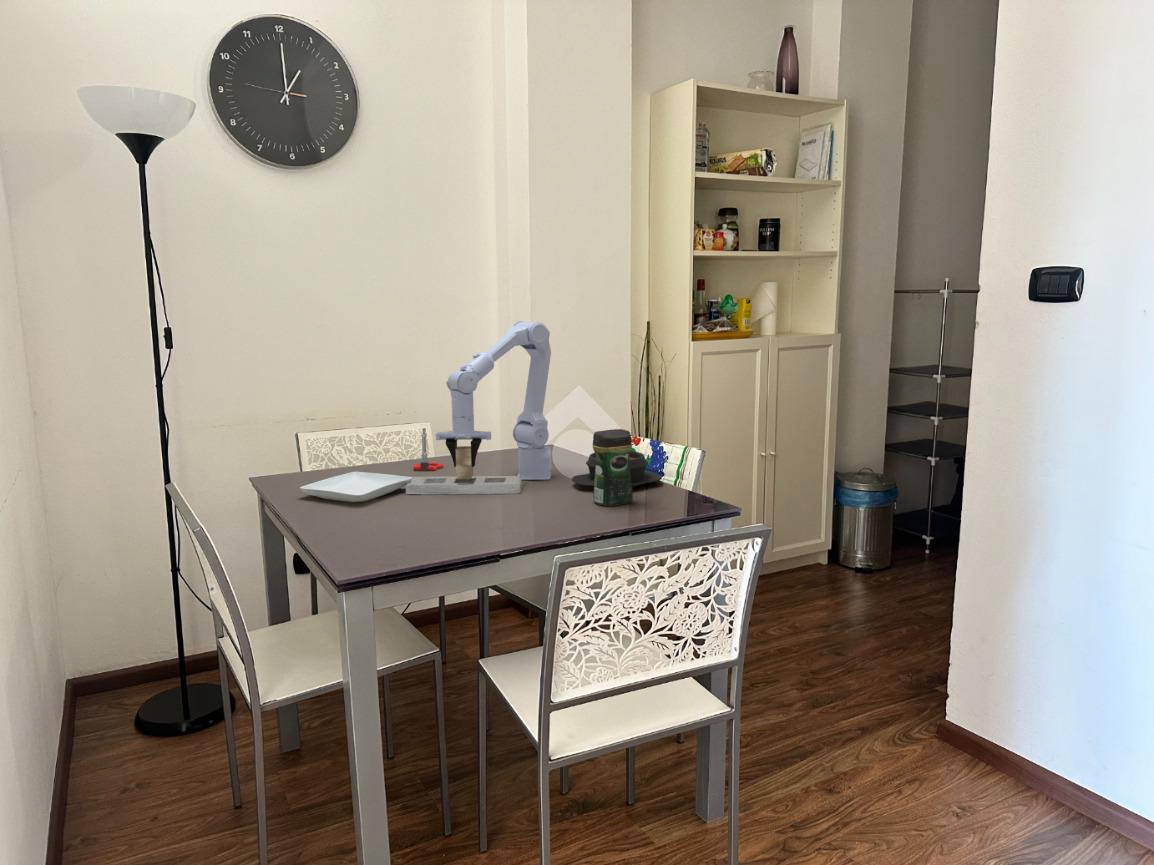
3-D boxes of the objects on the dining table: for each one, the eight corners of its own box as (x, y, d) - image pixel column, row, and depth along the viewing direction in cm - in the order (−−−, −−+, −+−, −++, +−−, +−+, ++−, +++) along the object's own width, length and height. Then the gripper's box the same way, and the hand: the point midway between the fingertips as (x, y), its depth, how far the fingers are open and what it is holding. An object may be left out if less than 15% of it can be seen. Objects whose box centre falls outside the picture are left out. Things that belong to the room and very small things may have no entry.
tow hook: (419, 466, 254) (410, 471, 245) (418, 424, 252) (409, 428, 243) (446, 466, 253) (437, 471, 244) (445, 424, 251) (436, 428, 242)
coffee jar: (622, 496, 212) (622, 425, 209) (637, 503, 205) (637, 430, 202) (588, 501, 208) (587, 428, 205) (602, 508, 201) (602, 433, 198)
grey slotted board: (522, 484, 226) (522, 475, 226) (519, 493, 216) (519, 484, 216) (413, 485, 226) (413, 476, 226) (406, 494, 216) (405, 485, 216)
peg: (473, 475, 223) (472, 446, 221) (471, 478, 219) (470, 449, 218) (458, 475, 223) (457, 446, 221) (456, 478, 219) (455, 449, 218)
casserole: (582, 496, 213) (581, 464, 212) (564, 480, 231) (564, 451, 229) (672, 489, 219) (672, 458, 218) (648, 474, 237) (648, 446, 236)
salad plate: (297, 498, 213) (297, 486, 212) (355, 481, 231) (354, 469, 231) (360, 507, 203) (359, 494, 203) (414, 489, 222) (414, 476, 221)
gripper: (433, 418, 214) (435, 469, 216) (488, 418, 214) (490, 469, 216) (437, 414, 221) (439, 463, 223) (491, 414, 221) (492, 463, 223)
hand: (464, 466), depth 220 cm, fingers closed on peg, 4 cm apart
